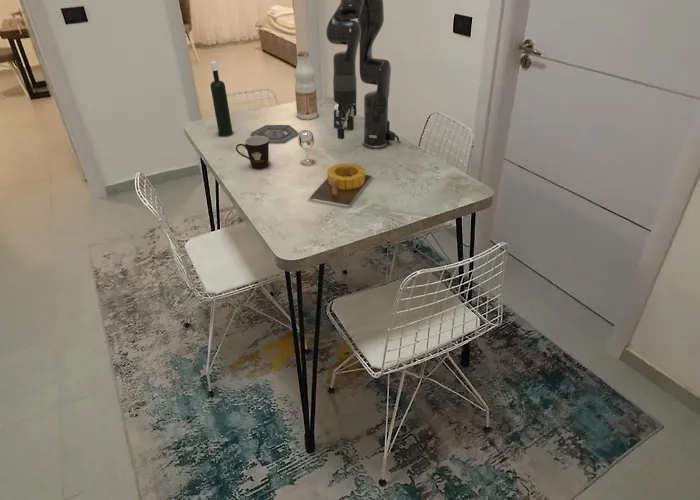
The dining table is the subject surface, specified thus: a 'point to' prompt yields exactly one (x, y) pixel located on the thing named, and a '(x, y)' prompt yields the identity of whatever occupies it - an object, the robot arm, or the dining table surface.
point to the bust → (342, 118)
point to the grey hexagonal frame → (276, 133)
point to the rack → (337, 191)
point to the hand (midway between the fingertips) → (345, 134)
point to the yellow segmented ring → (347, 182)
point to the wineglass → (306, 141)
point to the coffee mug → (257, 151)
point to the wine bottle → (220, 103)
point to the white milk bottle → (305, 87)
